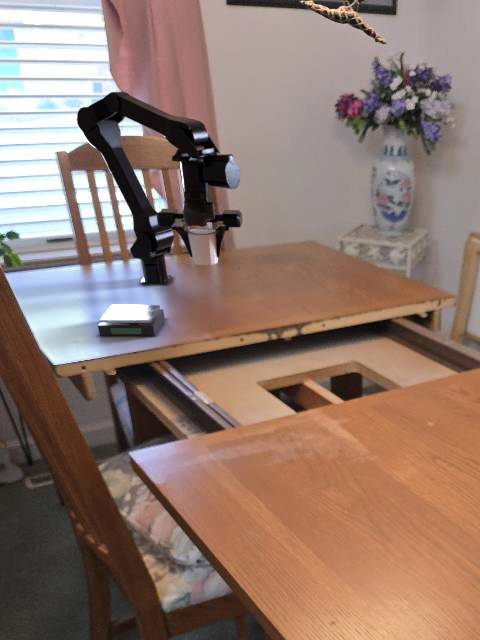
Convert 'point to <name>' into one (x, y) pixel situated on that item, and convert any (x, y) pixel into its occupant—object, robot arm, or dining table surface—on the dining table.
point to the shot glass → (203, 246)
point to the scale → (133, 327)
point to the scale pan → (130, 314)
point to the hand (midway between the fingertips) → (205, 256)
